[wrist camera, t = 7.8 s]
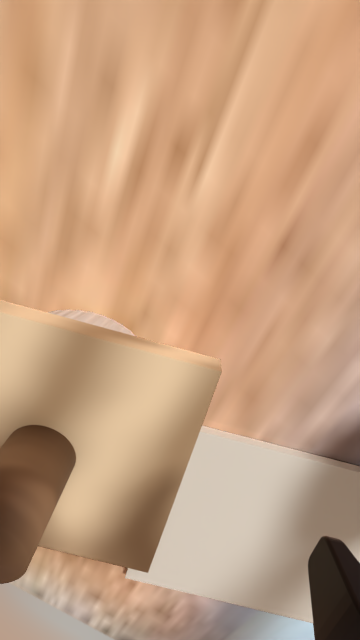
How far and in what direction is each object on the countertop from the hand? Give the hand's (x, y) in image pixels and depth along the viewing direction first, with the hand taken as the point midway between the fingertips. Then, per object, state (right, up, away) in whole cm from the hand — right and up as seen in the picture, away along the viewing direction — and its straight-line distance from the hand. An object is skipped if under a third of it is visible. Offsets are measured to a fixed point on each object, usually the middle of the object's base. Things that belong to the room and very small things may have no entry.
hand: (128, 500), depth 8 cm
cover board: (-5, -2, +9) cm, 10 cm away
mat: (+7, -11, +17) cm, 22 cm away
